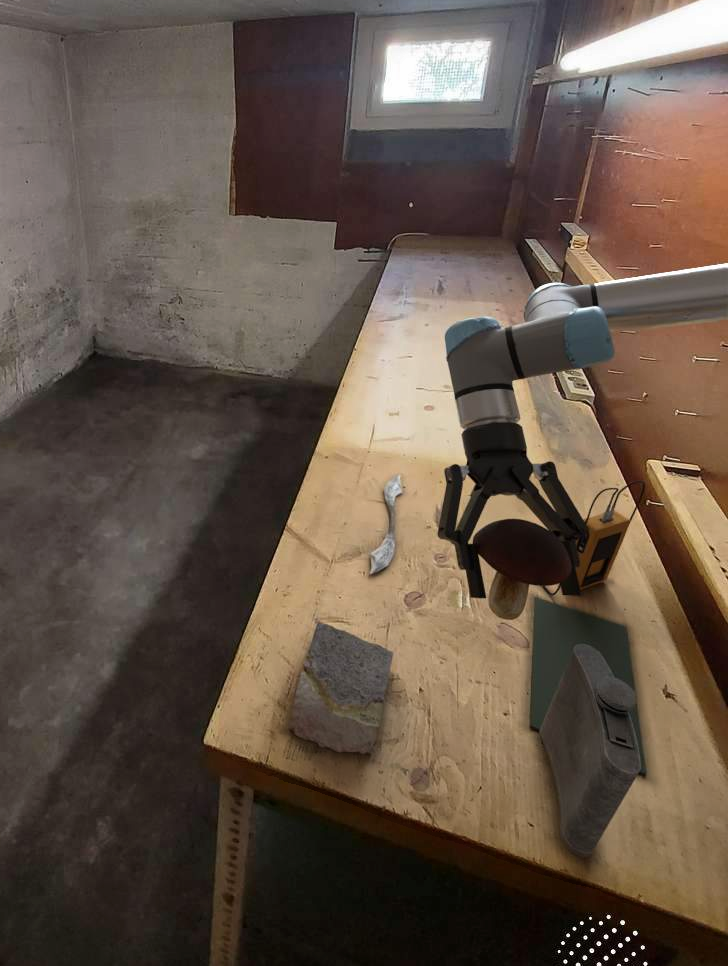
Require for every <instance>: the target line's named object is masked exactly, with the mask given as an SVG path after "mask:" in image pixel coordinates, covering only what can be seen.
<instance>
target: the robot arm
mask: <svg viewBox="0 0 728 966" xmlns="http://www.w3.org/2000/svg"><path fill="white" fill-rule="evenodd" d="M523 320H524V321H525V322H524V323H520V324H515V325H510V326H506V327H502V326H501V325H500V323H499V321H498V320H497V319H496V318H494V317H489V316H479V317H469V318H465V319H463V320H462V319H461V320H460V321H458V322H456V323H454V324H452V325H451V326H449V327H448V328H447V329H446V331H445V333H444V343H445V353H446V357H445V360H446V362H447V367H448V370H449V371H448V372H449V376H450V380H451V386H452V391H453V396H454V402H455V408H456V413H457V418H458V424H459V427H460V428H461V429H463V431H462V433H461V435H460V436H461V441H462V445H463V450H464V455H465V458H466V464H465V465H459V464H458V463H453V464H451V465H449V466H447V467H445V468H444V470H443V471H444V472H443V473H444V476H445V482H446V484H445V490H444V494H443V500H442V506H441V511H440V518H439V524H438V529H437V537H438V538H439V540H443V541H444V540H445V541H447V542H450V544H451V545H453V546H454V551H455V556H456V561H457V567H458V568H459V570H460V571H465V574H466V581H467V586H468V591H469V597H470V598H471V599H487V595H486V589H485V584H484V583H485V582H484V578H483V572H482V566H481V562H480V555H479V554H478V550H477V544H473V543H469V542H470V540H471V538H472V535H473V533H474V531H475V529H476V526H477V525H478V522H479V520H480V518H481V517H482V516H481V515H482V514H483V511H484V509H485V507H486V504H487V502H488V500H489V499H490V498H491V497H496V496H499V495H502V496H506V497H509V496H510V497H511V496H515V497H516V498H517V499H518V500H519V501H522V503H524V504H525V505H526V506H527V508H528V509H529V510H530V511H531V512H532V514H533V515H534V516H535V517H536V518H537V520H539V521H540V522H541V524H543V527H544V528H546V529H547V530H549V531H550V532H552V533H553V534H554V535H555V536H557V537H558V538H559V540H560V541H561V542H562V543H563V545H564V547H565V549H566V550H567V553H568V556H569V558H570V562H571V566H572V568H571V574H570V576H569V577H568V578H567V579H566V580H565V581H563V582H561V583H559V584H560V590H561V595H562V596H567V597H581V596H583V594H582V589H580V585H579V581H578V577H577V573H576V568H575V567H580V560H579V556H578V552H577V547H576V543H575V541H576V540H578V539H579V538H580V537H581V536H583V535H587V534H588V533H589V529H588V527H587V525H586V523H585V522H584V520H583V519H584V518H583V517H582V515H581V513H580V511H579V510H578V508H577V507H576V505H575V504H574V502H573V500H572V499H571V496H570V495H569V493H568V492H567V490H566V488H565V487H564V485H563V484H562V482H561V481H560V478H559V476H558V475H559V474H558V472H557V467H556V464H555V463H554V462H553V461H552V460H551V461H550V460H549V461H546V462H543V463H532V462H531V460H530V459H529V457H528V447H527V443H526V438H525V433H524V429H523V426H522V425H521V424H519V421H521V414H520V410H519V407H518V401H517V398H516V394H515V389H514V385H513V382H515V381H519V380H525V379H529V378H533V377H540V376H545V375H546V376H547V375H551V374H556V373H562V372H566V371H571V370H584V369H586V368H588V367H593V366H596V365H600V364H603V363H608V362H610V361H611V360H613V358H614V357H615V355H616V351H615V346H614V341H613V338H612V334H613V333H614V334H615V333H622V332H632V331H641V330H642V331H643V330H652V329H660V328H669V327H680V326H688V325H697V324H707V323H716V322H726V321H728V263H722V264H716V265H708V266H702V267H696V268H688V269H681V270H676V271H669V272H662V273H655V274H649V275H643V276H637V277H630V278H623V279H616V280H609V281H603V282H599V283H598V282H597V283H590V284H582V285H581V284H580V285H575V286H572V285H569V284H567V283H564V282H550V283H546V284H543V285H541V286H539V287H538V288H536V289H535V290H533V292H532V293H530V295H529V296H528V299H527V301H526V304H525V306H524V312H523ZM532 474H533V477H534V479H537V481H538V482H539V485H540V487H541V489H542V490H543V492H544V494H545V495H546V497H547V499H548V501H549V502H550V504H549V502H548V501H547V500H546V499H545V498H544V497H543V495H541V493H540V489H539V488H538V487H537V486H536V485H535V483H533V482H532V481H531V479H530V478H531V476H532ZM467 476H468V478H469V479H470V480H471V481H472V482H473V483H474V486H473V488H472V490H471V492H470V495H469V497H470V498H469V500H468V502H467V504H466V506H465V508H464V511H463V513H462V515H461V517H460V519H459V522H458V524H457V521H458V516H459V510H460V504H461V499H462V493H463V487H464V481H466V478H467Z"/></svg>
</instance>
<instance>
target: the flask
mask: <svg viewBox="0 0 728 966" xmlns="http://www.w3.org/2000/svg"><path fill="white" fill-rule="evenodd" d="M636 702H637V703H638V697H637V694H636V691H635V692H634V691H633V690H632V688H631V687H630V686H629V685H627V684H626V683H625V682H623V681H622V680H619V679H617V678H615V677H614V676H613V674H612V672H611V670H610V668H609V667H608V665H607V663H606V661H605V660H604V658H603V656H602V655H601V654H600V653H599V652H598V651H597V650H596V649H594V648H593V647H591V646H588V645H585V644H579V645H576V646H575V647H574V649H573V652H572V654H571V657H570V659H569V661H568V664H567V666H566V669H565V671H564V673H563V676H562V678H561V681H560V683H559V685H558V688H557V690H556V693H555V695H554V697H553V700H552V702H551V705H550V707H549V709H548V712H547V714H546V717H545V719H544V721H543V724H542V726H541V729H540V731H539V737H540V740H541V742H542V744H543V746H544V749H545V752H546V755H547V757H548V761H549V764H550V767H551V771H552V775H553V779H554V782H555V788H556V792H557V798H558V805H559V806H558V807H559V814H560V837H561V840H562V842H563V844H564V845H565V847H566V848H567V850H569V851H570V852H571V853H572V854H574V855H576V856H577V857H580V858H588V857H590V856H591V855H592V854H593V852H594V850H595V848H596V846H597V845H598V843H599V841H600V840H601V838H602V837H603V835H604V833H605V831H606V829H607V828H608V826H609V825H610V823H611V821H612V819H613V818H614V816H615V814H616V813H617V811H618V809H619V808H620V806H621V804H622V802H623V801H624V799H625V798H626V795H627V794H628V792H629V790H630V789H631V787H632V785H633V783H634V782H635V780H636V779H637V776H638V775H639V774H640V773H639V772H640V769H641V761H640V754H639V748H638V743H637V738H636V734H635V730H634V727H633V723H632V720H631V717H630V714H629V711H630V710H631V709H633V707H634V705H635V704H636ZM628 710H629V711H628Z"/></svg>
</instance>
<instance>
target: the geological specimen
mask: <svg viewBox="0 0 728 966" xmlns="http://www.w3.org/2000/svg"><path fill="white" fill-rule="evenodd" d="M393 657H394V651H391V650H388V649H387V648H385V647H383V646H382V645H380V644H378V643H373V642H369V641H367V640H364V639H362V638H360V637H358V636H357V635H355V634H352V633H351V632H348V631H346V630H345V629H344V630H343V629H339V628H336V627H334V626H333V625H331V624H328V623H324V622H322V621H320V620H317V622H316V626H315V628H314V631H313V635H312V637H311V640H310V644H309V648H308V651H307V653H306V657H305V661H304V663H303V665H302V666H303V667H302V671H301V672H300V676H299V679H298V682H297V687H296V691H295V694H294V699H293V703H292V709H291V715H290V720H289V725H288V730H290V731H292V732H293V733H294V735H295V736H297V737H299V738H301V739H303V740H305V741H311V742H313V743H316V744H317V745H318V747H319V748H323V749H325V748H329V749H331V750H333V751H334V752H337V753H343V752H346V753H360V754H362V755H365V754H370V755H371V756H373V751H374V747H375V742H376V740H377V736H378V732H379V728H380V722H381V718H382V712H383V707H384V702H385V698H386V697H385V696H386V692H387V691H386V690H387V686H388V682H389V677H390V671H391V667H392V662H393Z"/></svg>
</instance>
